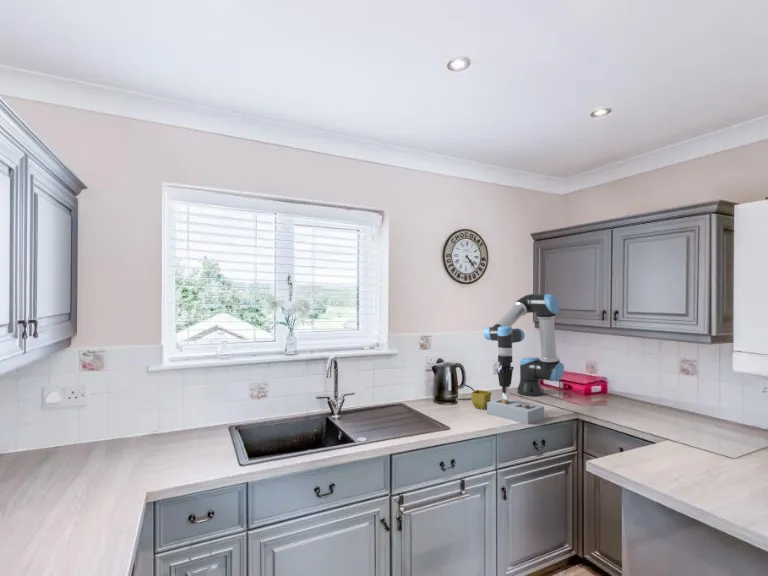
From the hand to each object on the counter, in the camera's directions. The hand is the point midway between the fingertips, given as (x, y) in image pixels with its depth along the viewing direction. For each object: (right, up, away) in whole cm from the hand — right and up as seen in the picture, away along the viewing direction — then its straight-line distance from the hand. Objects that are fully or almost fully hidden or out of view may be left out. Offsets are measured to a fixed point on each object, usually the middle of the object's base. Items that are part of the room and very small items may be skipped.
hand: (505, 398), depth 228 cm
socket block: (+4, -8, -5) cm, 10 cm away
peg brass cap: (0, -7, 0) cm, 7 cm away
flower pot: (-11, -8, +10) cm, 17 cm away
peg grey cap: (+8, -7, -9) cm, 14 cm away
